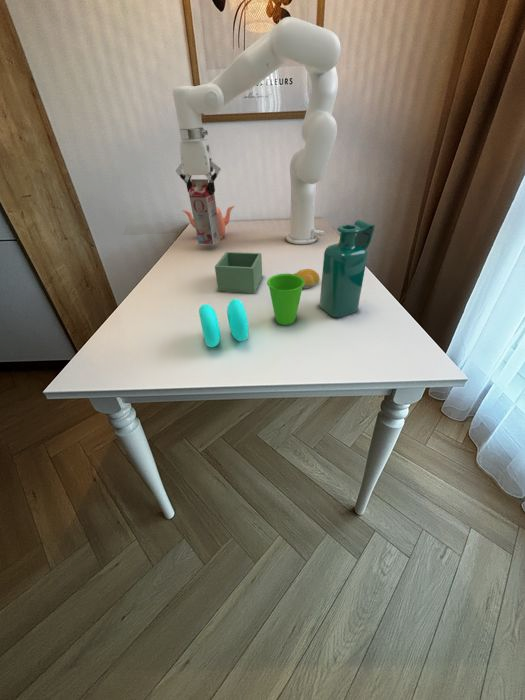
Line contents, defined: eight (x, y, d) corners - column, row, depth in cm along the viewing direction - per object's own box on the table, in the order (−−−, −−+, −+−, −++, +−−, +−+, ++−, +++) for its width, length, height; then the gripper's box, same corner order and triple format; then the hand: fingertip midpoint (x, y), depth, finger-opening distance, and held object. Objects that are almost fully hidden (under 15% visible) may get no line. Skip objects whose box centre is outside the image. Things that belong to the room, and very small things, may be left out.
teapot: (186, 239, 135) (181, 208, 127) (212, 228, 145) (208, 199, 137) (212, 245, 127) (207, 212, 120) (237, 233, 138) (234, 203, 130)
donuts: (251, 348, 72) (248, 311, 66) (208, 356, 70) (201, 320, 64) (241, 325, 80) (237, 290, 74) (202, 333, 78) (196, 297, 72)
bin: (262, 276, 102) (261, 253, 97) (254, 293, 93) (253, 268, 88) (228, 275, 104) (226, 251, 99) (218, 291, 96) (214, 266, 91)
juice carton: (213, 244, 120) (203, 181, 106) (198, 243, 122) (186, 181, 108) (220, 239, 125) (212, 177, 111) (206, 238, 127) (195, 177, 113)
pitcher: (335, 320, 80) (346, 234, 67) (316, 306, 86) (323, 224, 73) (364, 310, 84) (380, 226, 70) (344, 297, 90) (355, 217, 76)
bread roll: (323, 281, 98) (324, 269, 96) (306, 291, 93) (307, 279, 91) (302, 274, 103) (303, 262, 100) (285, 283, 98) (285, 271, 95)
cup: (306, 313, 83) (308, 275, 77) (298, 332, 77) (299, 292, 70) (274, 308, 86) (273, 271, 79) (263, 326, 79) (261, 287, 72)
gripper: (220, 132, 103) (227, 191, 114) (172, 135, 106) (183, 192, 117) (213, 135, 97) (221, 196, 108) (162, 137, 100) (175, 197, 111)
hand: (201, 194), depth 112 cm, fingers closed on juice carton, 7 cm apart
